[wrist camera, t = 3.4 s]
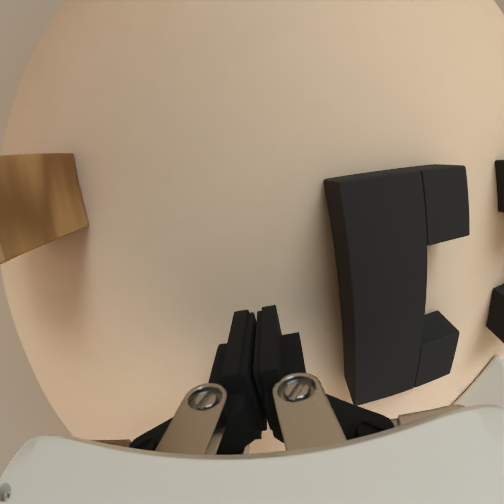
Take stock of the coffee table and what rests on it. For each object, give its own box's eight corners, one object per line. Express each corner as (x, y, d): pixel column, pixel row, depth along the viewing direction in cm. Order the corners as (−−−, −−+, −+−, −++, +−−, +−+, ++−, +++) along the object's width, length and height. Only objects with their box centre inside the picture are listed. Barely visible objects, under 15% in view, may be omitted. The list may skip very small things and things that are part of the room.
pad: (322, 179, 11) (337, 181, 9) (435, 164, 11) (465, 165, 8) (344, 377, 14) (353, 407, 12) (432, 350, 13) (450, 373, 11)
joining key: (30, 178, 12) (-47, 193, 6) (73, 153, 11) (-16, 156, 5) (44, 242, 13) (-29, 277, 7) (89, 225, 12) (5, 262, 7)
